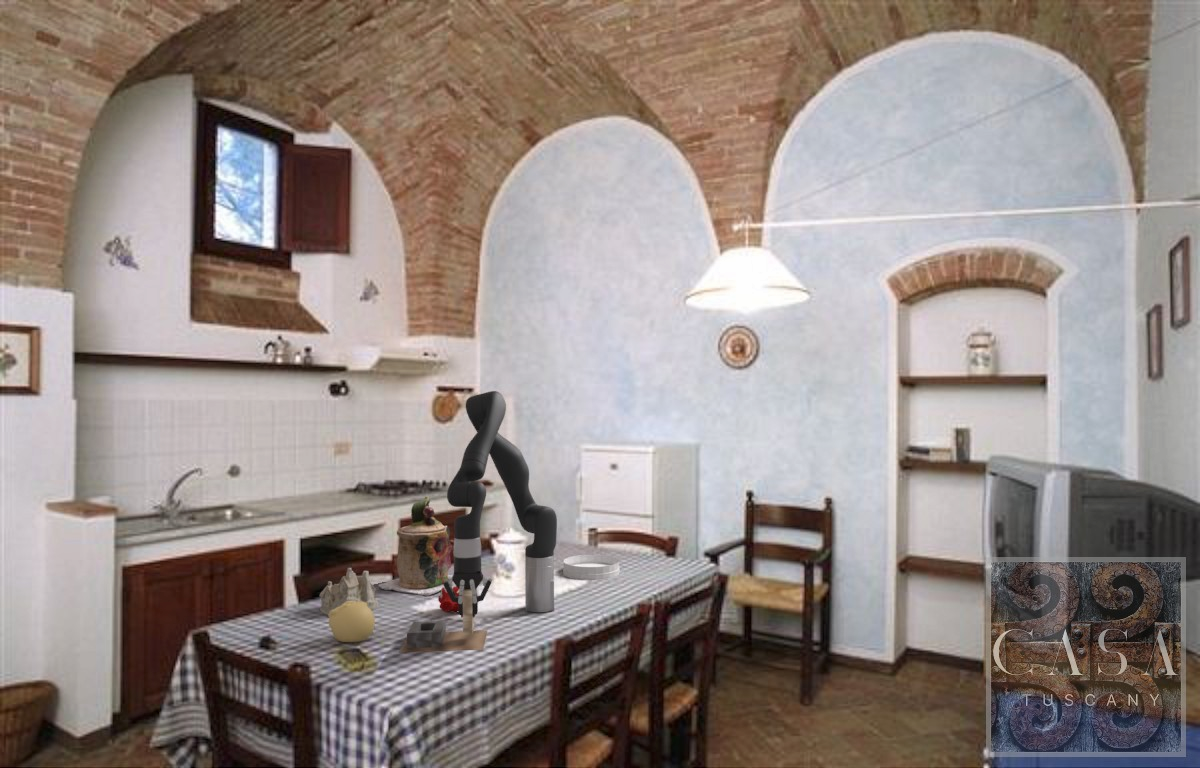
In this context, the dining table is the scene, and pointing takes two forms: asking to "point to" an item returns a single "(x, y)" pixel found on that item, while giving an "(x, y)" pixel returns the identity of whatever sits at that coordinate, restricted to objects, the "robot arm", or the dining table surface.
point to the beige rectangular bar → (467, 612)
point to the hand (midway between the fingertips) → (468, 616)
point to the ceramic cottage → (349, 592)
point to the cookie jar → (422, 553)
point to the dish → (591, 567)
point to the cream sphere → (351, 621)
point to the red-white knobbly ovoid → (446, 601)
